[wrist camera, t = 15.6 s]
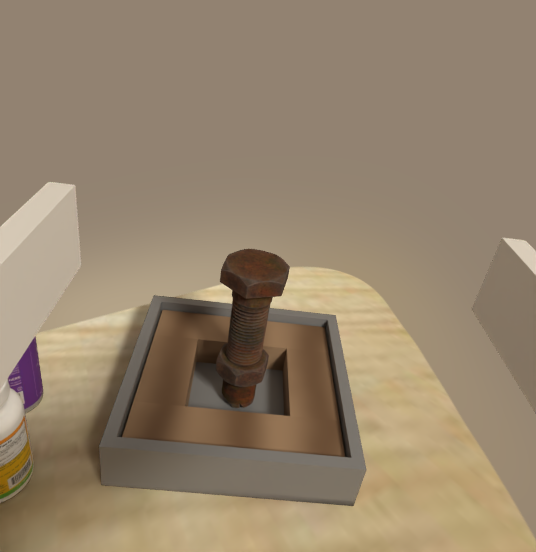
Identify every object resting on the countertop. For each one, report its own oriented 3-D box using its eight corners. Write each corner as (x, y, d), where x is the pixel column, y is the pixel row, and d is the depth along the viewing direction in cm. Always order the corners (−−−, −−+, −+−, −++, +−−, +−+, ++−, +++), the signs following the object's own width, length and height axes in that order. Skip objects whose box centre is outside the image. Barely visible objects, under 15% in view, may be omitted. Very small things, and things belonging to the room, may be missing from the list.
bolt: (258, 376, 50) (280, 247, 42) (274, 413, 46) (301, 279, 38) (202, 383, 48) (214, 249, 40) (213, 422, 44) (229, 283, 36)
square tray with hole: (121, 468, 39) (120, 442, 37) (162, 331, 54) (162, 309, 52) (338, 486, 40) (346, 462, 39) (319, 348, 55) (324, 327, 54)
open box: (101, 485, 38) (98, 446, 36) (153, 328, 55) (153, 295, 53) (353, 505, 40) (366, 469, 37) (327, 346, 57) (335, 315, 54)
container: (54, 392, 46) (37, 251, 38) (11, 425, 42) (-18, 276, 34) (18, 372, 47) (-7, 232, 39) (-27, 403, 43) (-64, 255, 36)
